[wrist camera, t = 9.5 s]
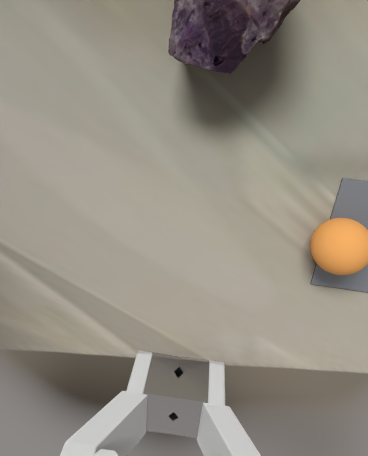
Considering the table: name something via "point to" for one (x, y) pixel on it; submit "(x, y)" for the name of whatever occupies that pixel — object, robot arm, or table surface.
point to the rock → (223, 30)
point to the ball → (340, 246)
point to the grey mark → (356, 210)
